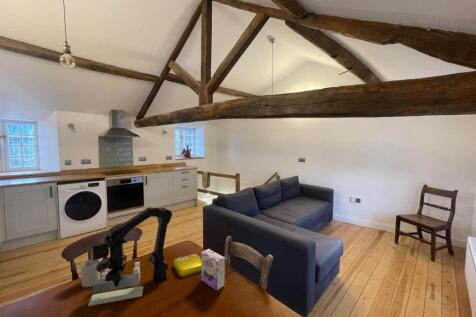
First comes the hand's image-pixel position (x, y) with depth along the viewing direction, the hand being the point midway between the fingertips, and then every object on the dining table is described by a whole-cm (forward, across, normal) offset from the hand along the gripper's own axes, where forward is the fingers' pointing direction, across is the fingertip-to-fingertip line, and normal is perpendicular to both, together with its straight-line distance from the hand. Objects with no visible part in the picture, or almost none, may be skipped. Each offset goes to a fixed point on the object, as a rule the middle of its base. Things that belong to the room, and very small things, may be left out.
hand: (117, 283), depth 110 cm
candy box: (+7, +4, +47) cm, 47 cm away
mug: (+7, -18, -15) cm, 24 cm away
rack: (+6, -12, 0) cm, 14 cm away
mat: (+6, 0, 0) cm, 6 cm away
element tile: (+7, -16, +36) cm, 40 cm away
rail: (+1, 0, 0) cm, 1 cm away
